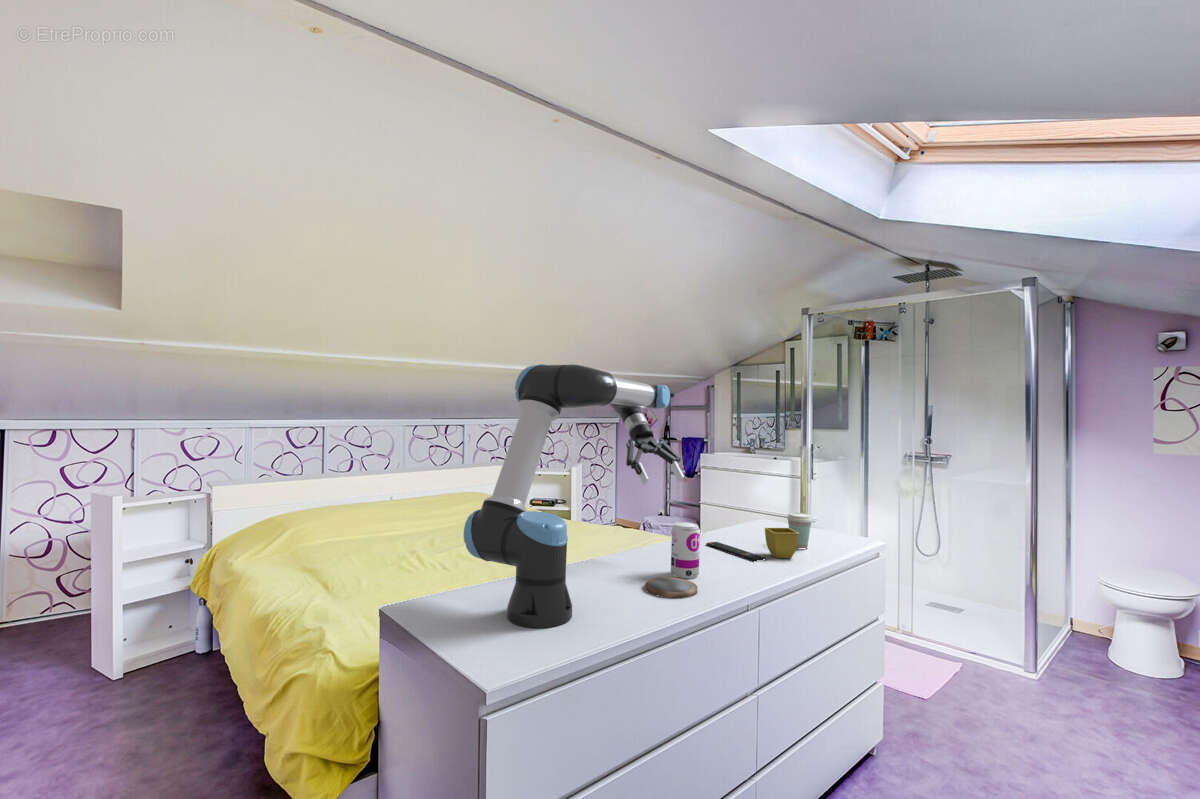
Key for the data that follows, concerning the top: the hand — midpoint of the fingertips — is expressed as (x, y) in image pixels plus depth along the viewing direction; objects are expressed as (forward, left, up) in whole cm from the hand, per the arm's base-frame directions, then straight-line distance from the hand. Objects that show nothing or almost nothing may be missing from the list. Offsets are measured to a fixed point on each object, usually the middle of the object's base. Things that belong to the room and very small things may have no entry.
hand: (664, 480), depth 180 cm
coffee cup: (+60, -2, -27) cm, 66 cm away
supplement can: (0, -11, -27) cm, 29 cm away
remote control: (+33, +3, -27) cm, 43 cm away
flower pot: (+44, -8, -27) cm, 52 cm away
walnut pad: (-12, -20, -26) cm, 36 cm away
